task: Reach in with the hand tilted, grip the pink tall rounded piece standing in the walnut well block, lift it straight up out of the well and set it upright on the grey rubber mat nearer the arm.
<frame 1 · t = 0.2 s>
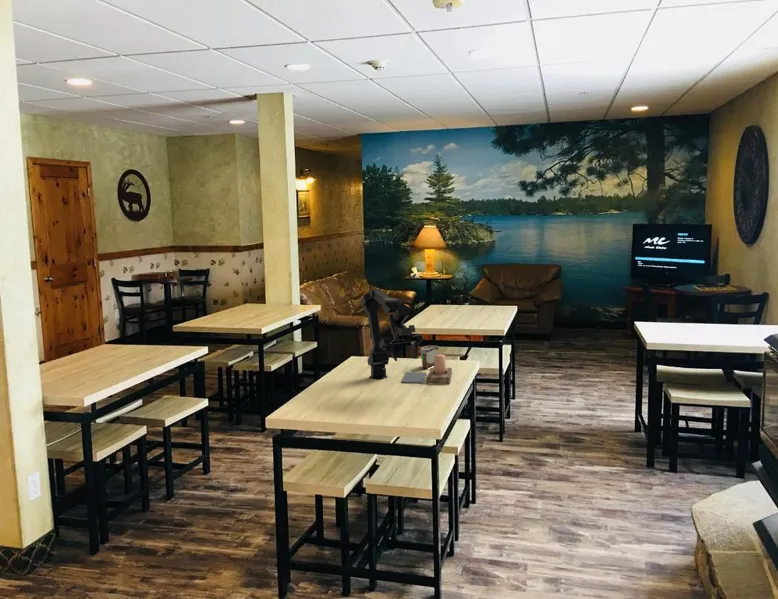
hand: (406, 359, 280), 15 cm above the table, tool tilted 35°, fingers open, 9 cm apart
pink tall rounded piece: (439, 367, 306), in the well block
well block: (440, 378, 306), on the table
food container: (427, 367, 329), on the table
mat: (414, 378, 308), on the table
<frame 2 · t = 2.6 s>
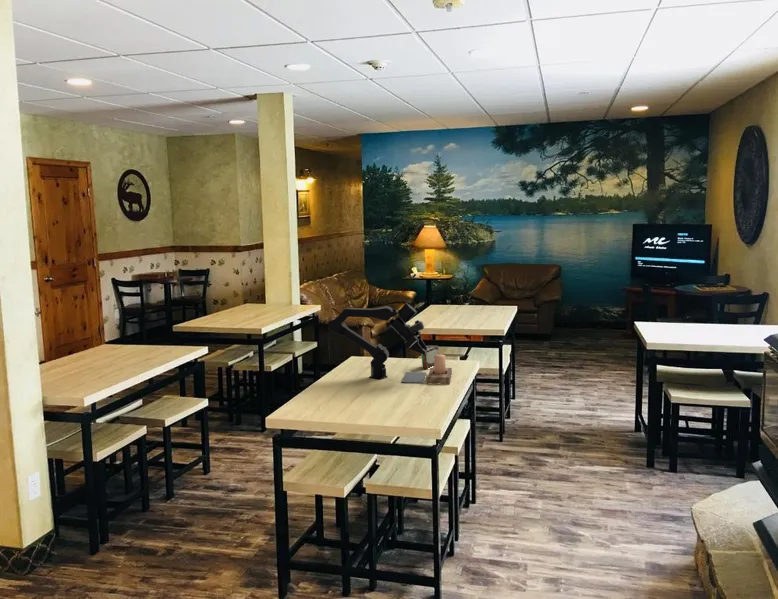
hand: (425, 351, 305), 13 cm above the table, tool tilted 45°, fingers open, 9 cm apart
nothing on the table moved.
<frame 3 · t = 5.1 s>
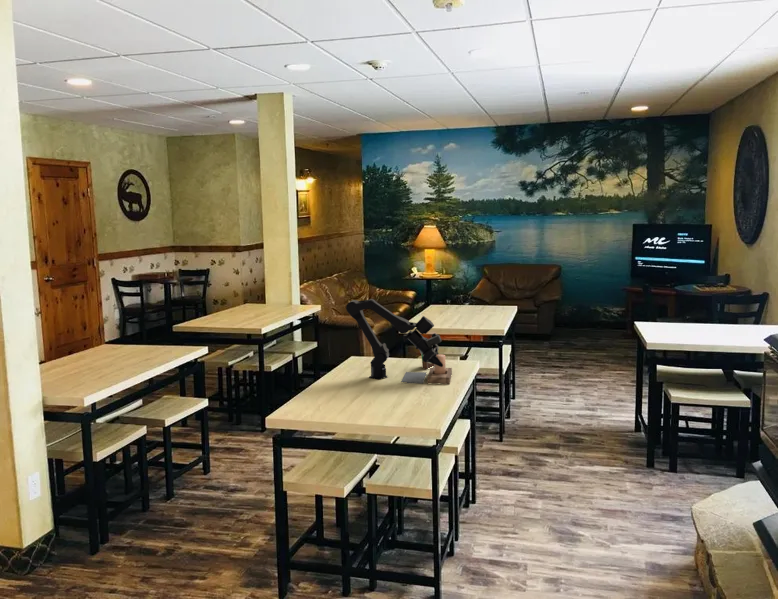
hand: (442, 364, 305), 7 cm above the table, tool tilted 45°, fingers closed on pink tall rounded piece, 5 cm apart
pink tall rounded piece: (439, 367, 306), in the well block, touching gripper
everything else where it was.
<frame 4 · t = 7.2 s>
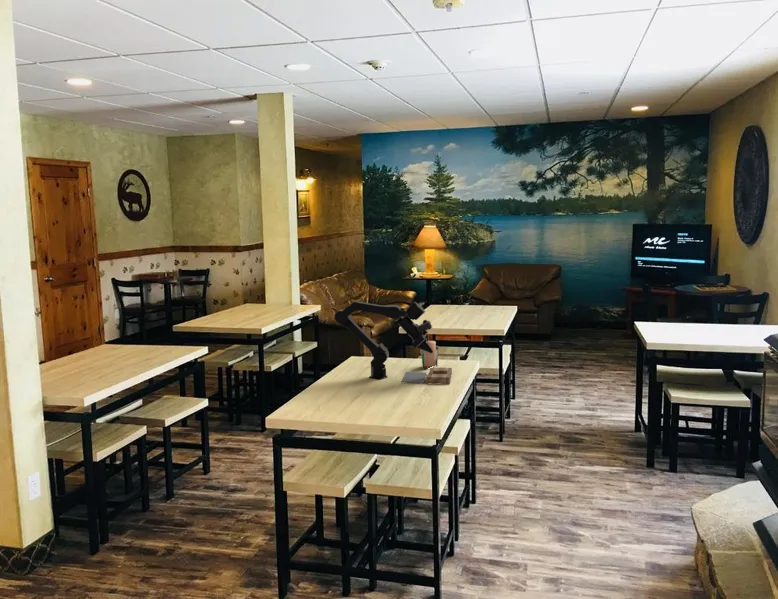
hand: (432, 351, 305), 13 cm above the table, tool tilted 45°, fingers closed on pink tall rounded piece, 5 cm apart
pink tall rounded piece: (429, 353, 305), point 12 cm above the table, touching gripper
everything else where it was.
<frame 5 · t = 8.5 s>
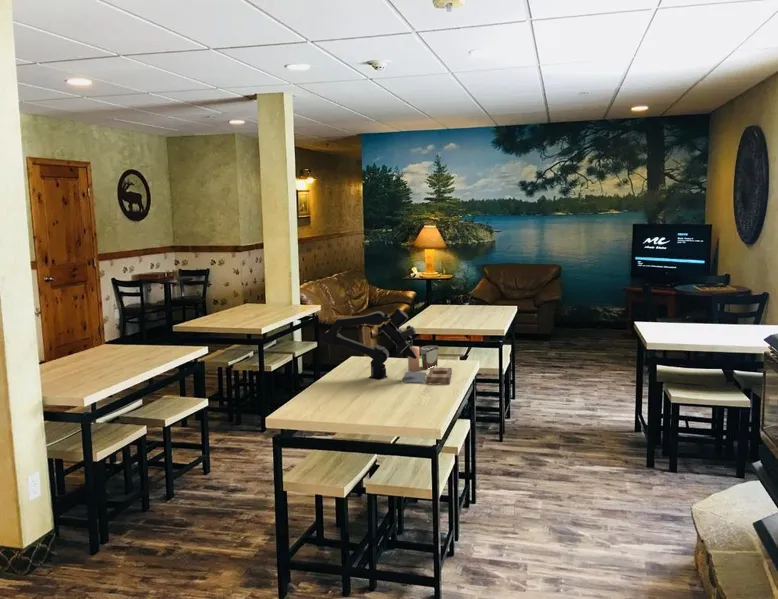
hand: (416, 356, 306), 10 cm above the table, tool tilted 45°, fingers closed on pink tall rounded piece, 5 cm apart
pink tall rounded piece: (413, 358, 307), point 9 cm above the table, touching gripper
everything else where it was.
when the fingers open (8 cm above the table, at t = 9.3 s): pink tall rounded piece drops 1 cm, resting on mat.
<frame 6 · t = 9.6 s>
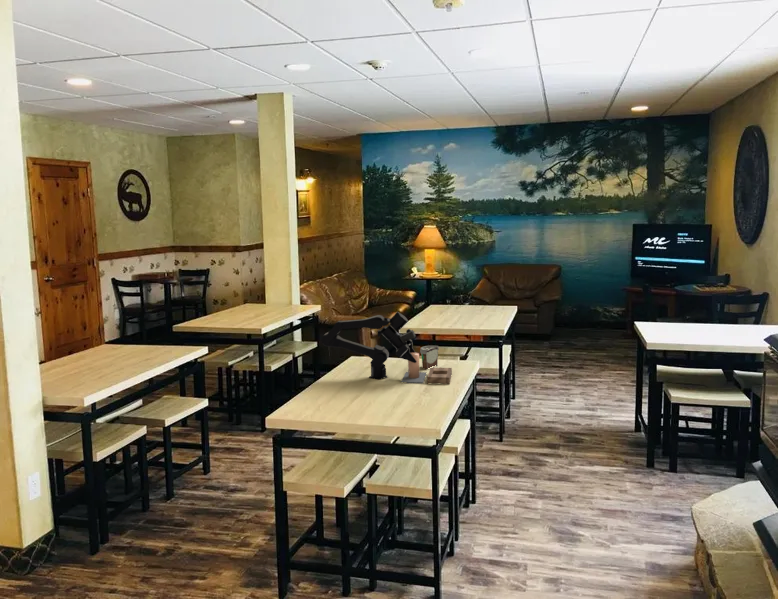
hand: (416, 360, 307), 9 cm above the table, tool tilted 45°, fingers open, 8 cm apart
pink tall rounded piece: (413, 365, 307), on the mat, point 6 cm above the table
everything else where it was.
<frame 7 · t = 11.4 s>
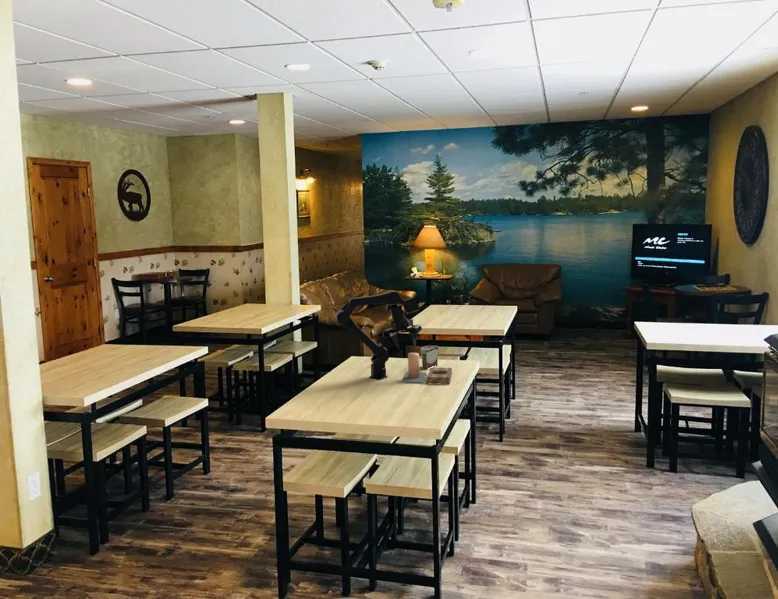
hand: (406, 348, 311), 13 cm above the table, tool pointing down, fingers open, 9 cm apart
nothing on the table moved.
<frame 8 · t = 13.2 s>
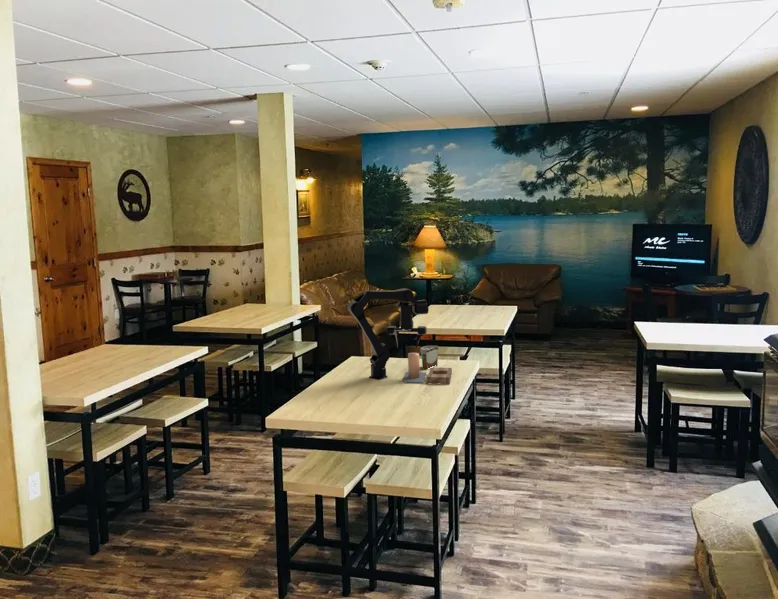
hand: (406, 347, 313), 13 cm above the table, tool pointing down, fingers open, 9 cm apart
nothing on the table moved.
at the end: pink tall rounded piece inside the target area on the mat (0.1 cm from its centre), point 6.1 cm above the mat's base; pink tall rounded piece tilted 0°; the gripper is holding nothing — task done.
